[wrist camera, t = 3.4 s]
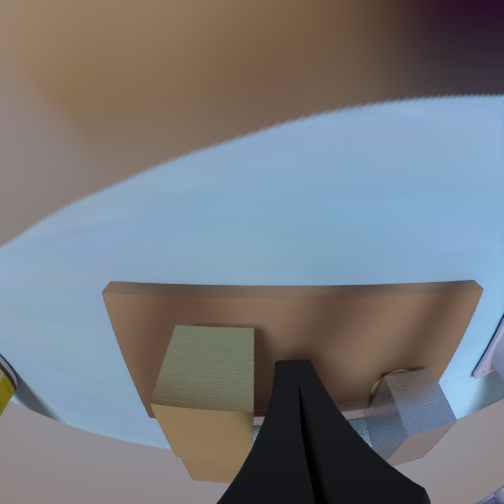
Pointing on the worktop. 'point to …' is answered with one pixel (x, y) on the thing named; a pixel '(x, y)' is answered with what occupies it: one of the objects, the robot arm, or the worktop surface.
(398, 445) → the grey piece
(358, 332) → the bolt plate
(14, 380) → the supplement bottle
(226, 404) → the divider leg
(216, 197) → the worktop surface
